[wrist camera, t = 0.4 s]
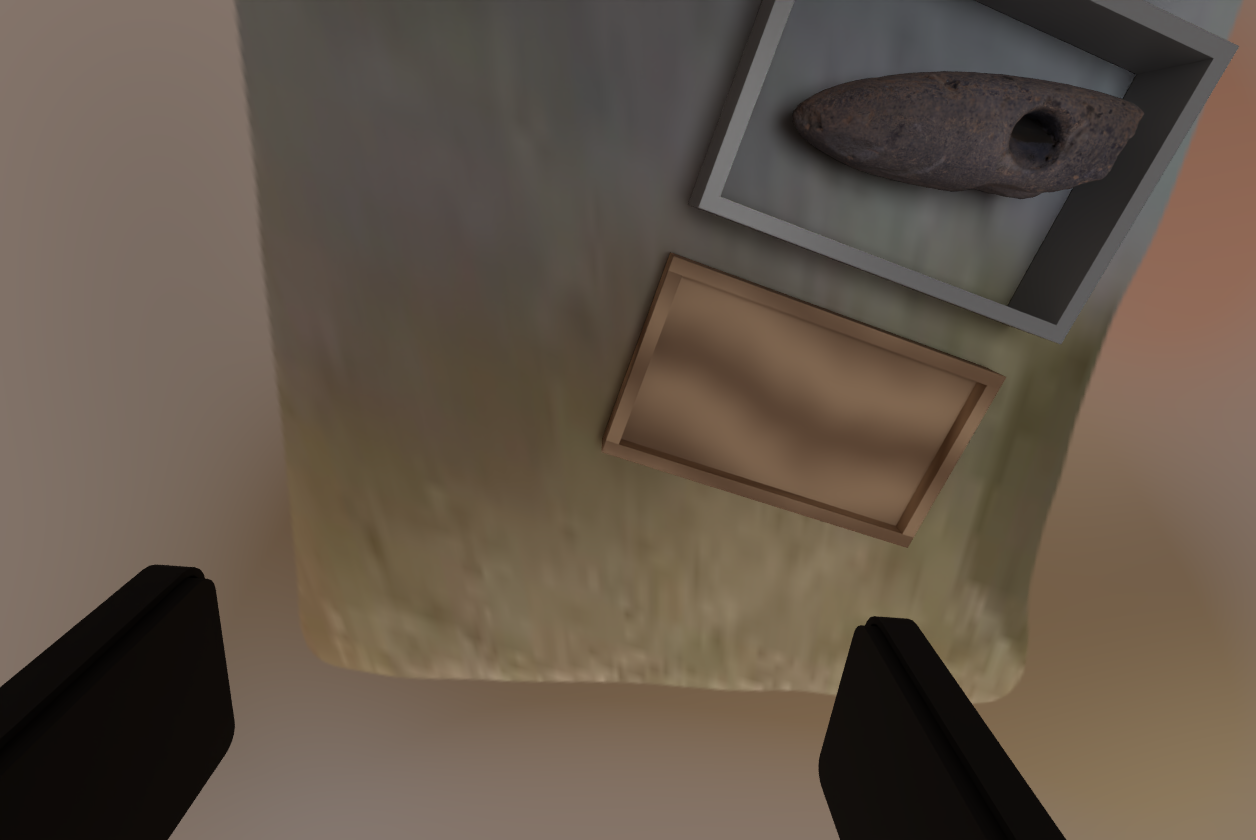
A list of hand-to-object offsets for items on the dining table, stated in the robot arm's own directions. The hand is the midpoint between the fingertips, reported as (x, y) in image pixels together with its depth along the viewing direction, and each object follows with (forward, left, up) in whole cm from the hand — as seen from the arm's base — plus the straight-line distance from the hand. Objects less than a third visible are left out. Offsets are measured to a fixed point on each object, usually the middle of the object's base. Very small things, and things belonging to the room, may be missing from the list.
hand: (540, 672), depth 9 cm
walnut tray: (+2, +13, -29) cm, 32 cm away
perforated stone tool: (-14, +13, -29) cm, 35 cm away
